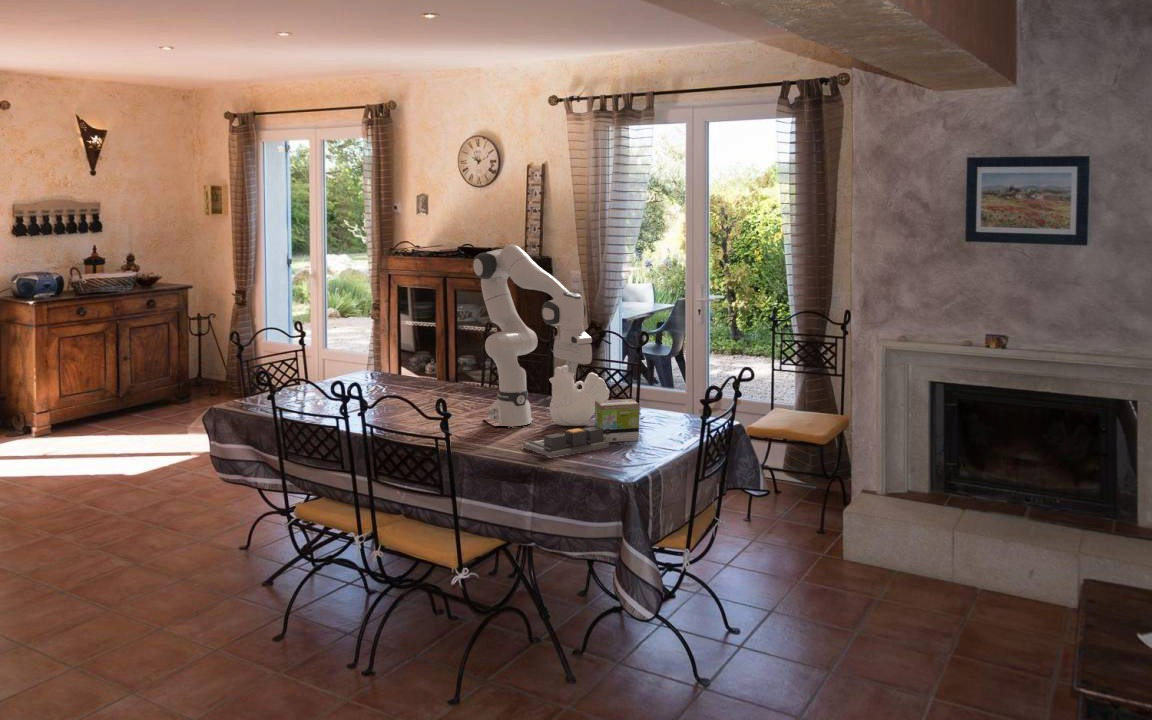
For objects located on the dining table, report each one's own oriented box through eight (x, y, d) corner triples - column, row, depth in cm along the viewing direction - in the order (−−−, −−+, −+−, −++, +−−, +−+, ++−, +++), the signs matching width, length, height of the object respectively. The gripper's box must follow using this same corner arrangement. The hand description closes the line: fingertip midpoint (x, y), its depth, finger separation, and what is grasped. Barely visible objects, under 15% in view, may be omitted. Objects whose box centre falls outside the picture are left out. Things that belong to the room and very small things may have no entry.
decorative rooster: (550, 430, 398) (549, 369, 394) (548, 422, 414) (547, 362, 410) (613, 428, 400) (612, 367, 396) (608, 420, 416) (607, 361, 412)
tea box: (601, 444, 376) (601, 405, 373) (594, 438, 385) (593, 400, 383) (639, 440, 380) (639, 402, 377) (631, 434, 389) (631, 397, 387)
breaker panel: (523, 448, 370) (523, 430, 369) (580, 438, 385) (580, 420, 384) (551, 458, 356) (550, 439, 354) (608, 447, 370) (608, 428, 369)
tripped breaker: (558, 444, 366) (558, 429, 365) (578, 441, 371) (577, 426, 370) (573, 449, 359) (573, 434, 358) (592, 445, 364) (592, 430, 363)
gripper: (549, 333, 379) (549, 369, 381) (580, 340, 363) (580, 377, 365) (563, 332, 383) (563, 367, 385) (594, 338, 366) (594, 375, 369)
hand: (572, 372), depth 375 cm, fingers closed
